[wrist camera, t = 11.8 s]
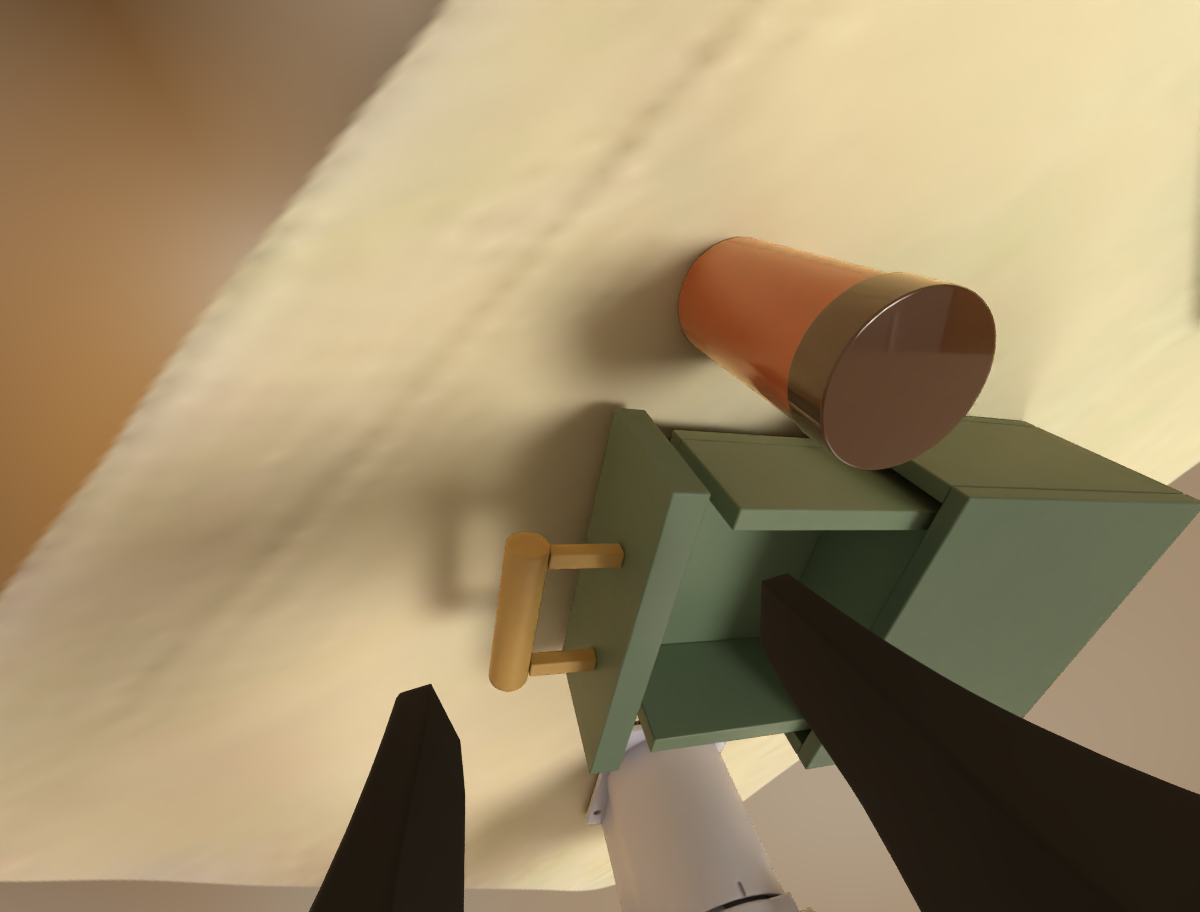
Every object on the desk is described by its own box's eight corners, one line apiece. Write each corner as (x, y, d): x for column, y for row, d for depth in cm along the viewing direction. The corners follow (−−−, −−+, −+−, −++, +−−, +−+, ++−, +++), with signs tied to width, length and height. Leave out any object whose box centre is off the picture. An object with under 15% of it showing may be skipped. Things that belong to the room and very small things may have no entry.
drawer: (476, 661, 23) (484, 792, 18) (505, 399, 17) (528, 489, 13) (766, 638, 28) (833, 737, 23) (864, 426, 22) (980, 499, 17)
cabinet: (726, 636, 28) (805, 770, 22) (822, 402, 22) (970, 498, 16) (900, 623, 32) (1009, 734, 26) (1024, 420, 26) (1207, 503, 20)
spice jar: (764, 363, 20) (937, 473, 13) (662, 351, 19) (793, 468, 12) (804, 245, 18) (1033, 299, 11) (694, 223, 17) (873, 268, 10)
